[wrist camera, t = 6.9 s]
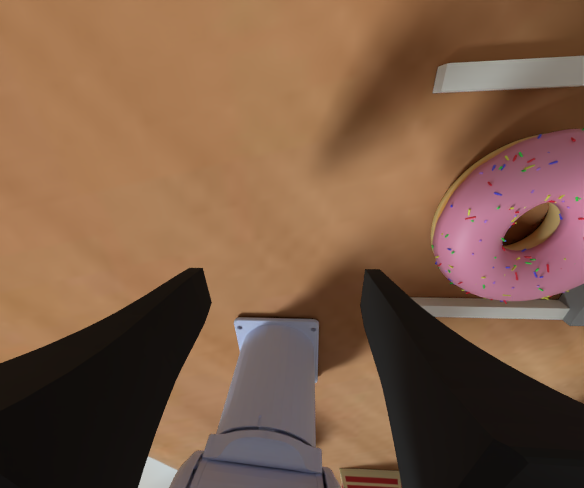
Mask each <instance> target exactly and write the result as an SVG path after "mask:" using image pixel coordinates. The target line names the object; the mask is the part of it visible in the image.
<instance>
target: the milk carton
mask: <svg viewBox="0 0 584 488" xmlns="http://www.w3.org/2000/svg"><path fill="white" fill-rule="evenodd" d="M339 469H340V475H341V482H342V488H402V486H401V479H400V474H399V471H390V470H370V469H345V468H339Z"/></svg>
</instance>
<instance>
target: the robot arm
mask: <svg viewBox="0 0 584 488" xmlns="http://www.w3.org/2000/svg"><path fill="white" fill-rule="evenodd" d="M211 303H212V302H211V298H210V295H209V291H208V287H207V283H206V279H205V275H204V271H203V268H189V269H187V270H185V271H183V272H182V273H180V274H178V275H177V276H175V277H173V278H172V279H170V280H169V281H167V282H166V283H164V284H162V285H161V286H159V287H158V288H156V289H155V290H153V291H151V292H150V293H148V294H147V295H145V296H143V297H142V298H140V299H138V300H137V301H135V302H133V303H131V304H130V305H128V306H126V307H125V308H123V309H121V310H120V311H118V312H116V313H114V314H112V315H110V316H108V317H107V318H105V319H103V320H101V321H99V322H97V323H95V324H93V325H91V326H89V327H87V328H85V329H82V330H80V331H78V332H76V333H73V334H71V335H69V336H67V337H65V338H62V339H60V340H58V341H56V342H53V343H51V344H49V345H46V346H44V347H41V348H39V349H36V350H34V351H31V352H29V353H26V354H24V355H21V356H19V357H16V358H13V359H11V360H8V361H5V362H3V363H0V488H138V485H139V482H140V479H141V475H142V472H143V469H144V466H145V463H146V460H147V457H148V454H149V451H150V448H151V445H152V442H153V439H154V437H155V434H156V431H157V428H158V425H159V423H160V420H161V417H162V415H163V412H164V409H165V406H166V404H167V401H168V399H169V396H170V394H171V391H172V389H173V386H174V384H175V381H176V379H177V377H178V375H179V373H180V371H181V369H182V367H183V365H184V363H185V361H186V359H187V357H188V355H189V353H190V351H191V349H192V347H193V345H194V343H195V341H196V339H197V337H198V335H199V333H200V331H201V329H202V327H203V325H204V323H205V321H206V318H207V315H208V312H209V309H210V306H211ZM360 307H361V313H362V318H363V324H364V328H365V332H366V335H367V338H368V342H369V345H370V348H371V351H372V355H373V358H374V361H375V364H376V367H377V371H378V374H379V377H380V381H381V384H382V388H383V392H384V397H385V401H386V406H387V411H388V416H389V421H390V426H391V431H392V436H393V441H394V446H395V451H396V457H397V462H398V468H399V474H400V479H401V485H402V488H584V404H583V403H580V402H578V401H576V400H574V399H572V398H570V397H568V396H566V395H564V394H562V393H560V392H558V391H556V390H554V389H552V388H550V387H548V386H546V385H544V384H542V383H540V382H538V381H536V380H535V379H533V378H531V377H529V376H527V375H525V374H523V373H521V372H520V371H518V370H516V369H514V368H512V367H511V366H509V365H507V364H505V363H504V362H502V361H500V360H498V359H497V358H495V357H493V356H492V355H490V354H488V353H487V352H485V351H483V350H482V349H480V348H478V347H477V346H475V345H474V344H472V343H471V342H469V341H467V340H466V339H464V338H463V337H462V336H460V335H459V334H457V333H456V332H454V331H453V330H451V329H450V328H448V327H447V326H446V325H444V324H443V323H441V322H440V321H439V320H437V319H436V318H435V317H434V316H432V315H431V314H430V313H428V312H427V311H426V310H425V309H423V308H422V307H421V306H420V305H419V304H417V303H416V302H415V301H414V300H413V299H412V298H410V297H409V296H408V295H407V294H406V293H405V292H404V291H403V290H401V289H400V288H399V287H398V286H397V285H396V284H395V283H394V282H393V281H392V280H391V279H390V278H389V277H387V276H386V275H385V274H384V273H383V272H382V271H381V270H380V269H365V274H364V282H363V289H362V297H361V304H360ZM234 326H235V330H236V335H237V339H238V344H239V349H240V354H239V358H238V361H237V365H236V368H235V371H234V375H233V378H232V382H231V385H230V388H229V392H228V395H227V399H226V402H225V405H224V409H223V412H222V416H221V419H220V423H219V426H218V429H217V433H216V434H210V435H209V438H208V441H207V444H206V447H205V450H204V451H200V450H198V451H195V452H194V453H193V454H192V455H191V456H190V458H189V459H187V460H186V461H185V462H184V463H183V464H182V465H181V467H180V468H179V470H178V471H177V473H176V475H175V477H174V479H173V481H172V483H171V485H170V487H169V488H341V487H340V484H339V482H338V481H337V479H336V478H335V476H334V474H333V472H332V470H331V469H330V468H328V467H322V451H321V449H320V448H316V427H315V383H316V382H317V380H318V341H319V322H318V321H317V320H316V319H289V318H248V317H238V318H236V319H235V321H234Z"/></svg>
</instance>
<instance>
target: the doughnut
mask: <svg viewBox="0 0 584 488" xmlns="http://www.w3.org/2000/svg"><path fill="white" fill-rule="evenodd" d="M546 202H548V203H549V209H548V213H547V215H546V217H545V219H544V221H543V222H542V224H541V225H540V226H539V227H538V228H537V229H536V230H535V231H534V232H533V233H532V234H530V235H529V236H528V237H526V238H524V239H523V240H521V241H519V242H516V243H514V244H511V245H506V246H502V245H503V244H502V241H504V242H506V240H505V239H504V236H505V234H506V232H507V230H508V229H509V228H511V225H514V224H516V222H515V221H516V220H517V219H518V218H519V217H520V216H521V215H523V214H524V213H525V212H527V211H528V210H530V209H532V208H534V207H535V206H537V205H540V204H543V203H546ZM431 245H432V250H433V253H434V256H435V259H436V263H435V264H437V265H438V268H439V269H440V271H441V272H442V273H443V274H444V276H445V277H446V278H447V279H448V280H450V281H451V283H450V284H454V285H457V286H459V287H460V288H462V290H461V291H467V292H466V294H468V293H472V294H474V295H477V296H480V297H483V298H484V299H485V298H487V299H490V300H500V302H503V301H504V302H505V304H507V302H506V301H509V302H510V301H527V300H534V299H540V298H541V299H544V298H545V299H547V300H549V299H548V298H547V297H552V296H553V295H556V294H559V293H565V291H567V292H569V290H570V289H573V288H575V287H577V286H580V285H582V284H584V128H583V129H567V130H561V131H556V132H551V133H545V134H539V135H535V136H531V137H527V138H524V139H521V140H518V141H515V142H512V143H510V144H508V145H505V146H503V147H501V148H499V149H497V150H495V151H493V152H492V153H490V154H488V155H487V156H485V157H483V158H482V159H480V160H479V161H478V162H476V163H475V164H474V165H472V166H471V167H470V168H469V169H467V170H466V171H465V172H464V173H463V174H462V175H461V176H460V177H459V178H458V179H457V180H456V181H455V182H454V183H453V184H452V186H451V187H450V188H449V189H448V191H447V192H446V194H445V195H444V197H443V198H442V200H441V202H440V204H439V206H438V208H437V210H436V212H435V215H434V218H433V222H432V227H431Z"/></svg>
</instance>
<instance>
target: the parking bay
mask: <svg viewBox="0 0 584 488" xmlns="http://www.w3.org/2000/svg"><path fill="white" fill-rule="evenodd" d="M579 86H584V56H569V57H551V58H533V59H515V60H497V61H479V62H461V63H447V64H444V65H441V66H439V67H438V70H437V74H436V79H435V84H434V89H433V93H450V92H472V91H493V90H515V89H536V88H558V87H579ZM410 298H412V299H413V300H414V301H415V302H416V303H417V304H419V305H420V306H421V307H422V308H423V309H425V310H426V311H427V312H428V313H430V314H431V315H432V316H434V317H463V318H507V319H550V320H563V321H564V322H566V323H567V324H568V325H569V326H584V284H582V285H580V286H577V287H575V288H573V289H570V290H569V292H567V291H565V293H563V294H562V295H561V297H560V298H559V300H539V299H534V300H527V301H510V302H509V301H506V302H507V304H505V302H504V301H503V302H500V300H490V299H480V298H422V297H410Z"/></svg>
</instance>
